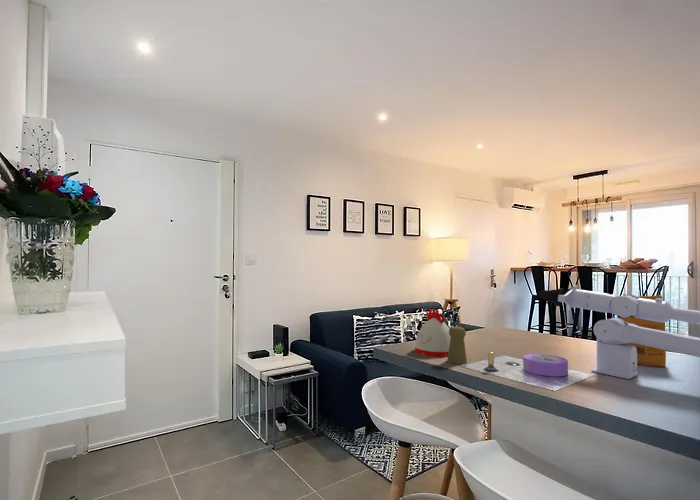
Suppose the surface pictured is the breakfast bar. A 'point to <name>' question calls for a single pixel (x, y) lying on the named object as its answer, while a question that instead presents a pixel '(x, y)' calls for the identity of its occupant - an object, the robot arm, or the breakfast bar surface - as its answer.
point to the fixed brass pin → (491, 362)
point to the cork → (457, 346)
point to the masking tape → (545, 365)
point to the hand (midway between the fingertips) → (545, 293)
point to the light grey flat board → (526, 373)
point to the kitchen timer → (433, 336)
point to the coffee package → (647, 353)
